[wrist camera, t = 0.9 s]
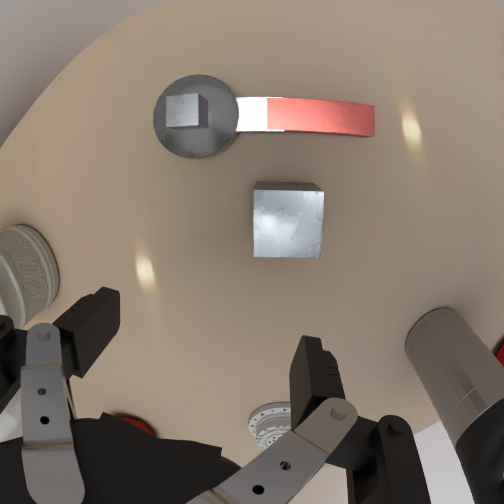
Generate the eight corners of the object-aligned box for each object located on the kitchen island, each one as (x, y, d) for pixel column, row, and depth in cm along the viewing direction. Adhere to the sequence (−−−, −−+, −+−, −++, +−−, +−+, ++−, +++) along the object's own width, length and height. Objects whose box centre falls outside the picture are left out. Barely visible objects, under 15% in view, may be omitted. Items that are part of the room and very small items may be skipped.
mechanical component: (318, 400, 39) (250, 398, 39) (322, 423, 35) (248, 421, 35) (307, 437, 42) (247, 435, 43) (308, 457, 38) (246, 456, 39)
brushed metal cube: (312, 183, 29) (323, 191, 23) (310, 236, 31) (319, 257, 25) (256, 181, 29) (253, 190, 23) (256, 236, 31) (253, 256, 25)
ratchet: (164, 159, 29) (136, 163, 22) (164, 85, 26) (136, 71, 20) (365, 161, 28) (391, 165, 21) (365, 86, 25) (390, 71, 19)
